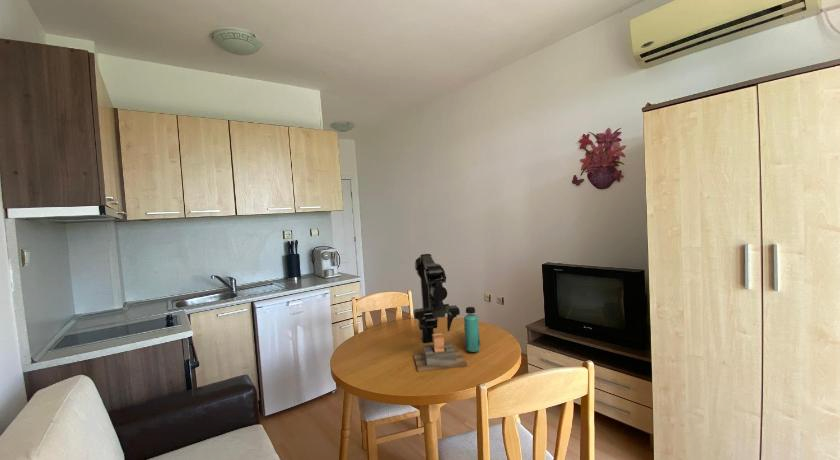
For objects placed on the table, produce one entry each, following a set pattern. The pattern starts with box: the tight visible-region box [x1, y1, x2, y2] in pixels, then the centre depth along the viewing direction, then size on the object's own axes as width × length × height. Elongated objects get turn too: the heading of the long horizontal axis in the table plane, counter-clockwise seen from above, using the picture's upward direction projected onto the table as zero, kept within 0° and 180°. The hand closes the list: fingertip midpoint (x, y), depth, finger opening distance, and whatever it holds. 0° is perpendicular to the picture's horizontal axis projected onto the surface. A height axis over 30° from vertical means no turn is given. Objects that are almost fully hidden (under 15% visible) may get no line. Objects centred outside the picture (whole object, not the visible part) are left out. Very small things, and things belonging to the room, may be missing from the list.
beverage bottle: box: [463, 306, 481, 353], centre depth 154 cm, size 6×7×20 cm
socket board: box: [413, 342, 468, 373], centre depth 148 cm, size 16×20×5 cm
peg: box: [432, 332, 445, 352], centre depth 148 cm, size 4×4×10 cm
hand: (437, 332), depth 147 cm, fingers open, 9 cm apart
